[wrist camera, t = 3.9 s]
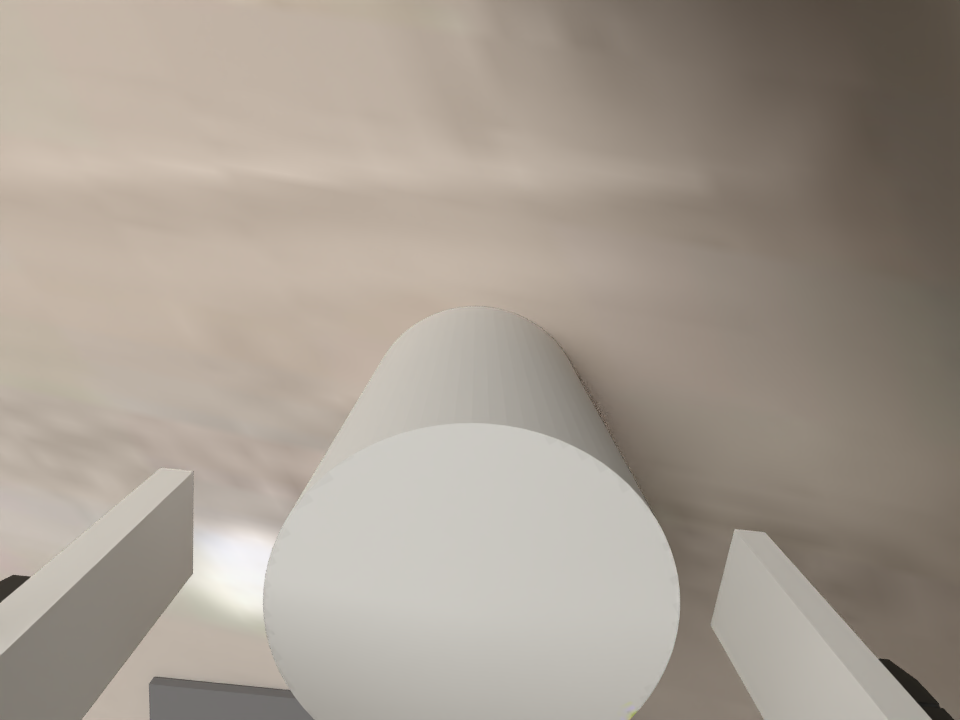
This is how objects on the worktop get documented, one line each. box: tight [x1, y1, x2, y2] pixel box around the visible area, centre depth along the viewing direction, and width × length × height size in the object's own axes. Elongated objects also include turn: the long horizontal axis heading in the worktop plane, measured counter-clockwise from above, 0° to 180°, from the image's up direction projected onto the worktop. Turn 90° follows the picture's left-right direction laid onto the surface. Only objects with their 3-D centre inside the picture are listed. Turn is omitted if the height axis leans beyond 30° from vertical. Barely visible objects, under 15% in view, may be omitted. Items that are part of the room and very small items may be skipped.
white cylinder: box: [263, 306, 680, 720], centre depth 18 cm, size 8×8×12 cm
